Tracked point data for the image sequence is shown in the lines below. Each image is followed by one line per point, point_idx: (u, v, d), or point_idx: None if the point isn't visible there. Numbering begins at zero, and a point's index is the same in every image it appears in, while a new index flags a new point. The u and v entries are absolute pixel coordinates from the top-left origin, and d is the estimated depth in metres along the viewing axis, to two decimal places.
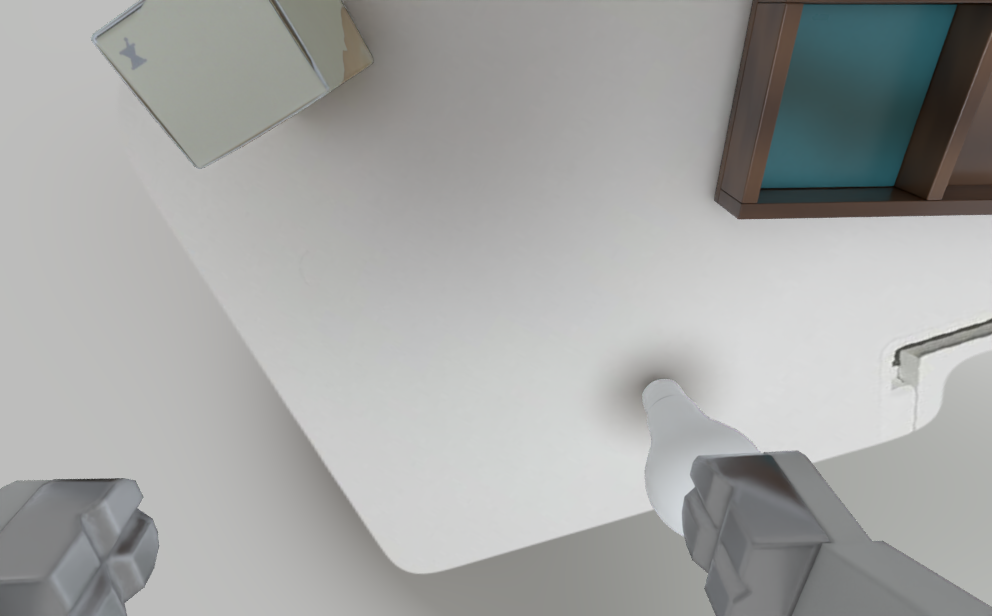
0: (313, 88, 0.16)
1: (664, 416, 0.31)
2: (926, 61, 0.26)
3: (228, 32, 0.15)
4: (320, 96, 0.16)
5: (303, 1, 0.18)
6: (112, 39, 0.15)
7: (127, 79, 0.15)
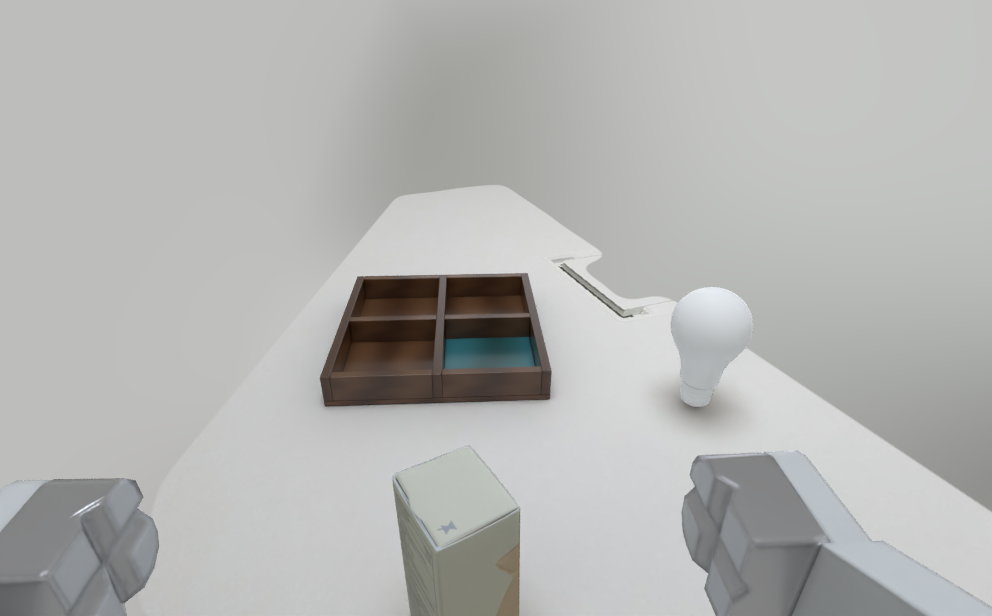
0: (468, 449, 0.28)
1: (692, 371, 0.45)
2: (469, 341, 0.55)
3: (437, 480, 0.26)
4: (472, 448, 0.28)
5: None
6: (438, 536, 0.23)
7: (462, 534, 0.23)
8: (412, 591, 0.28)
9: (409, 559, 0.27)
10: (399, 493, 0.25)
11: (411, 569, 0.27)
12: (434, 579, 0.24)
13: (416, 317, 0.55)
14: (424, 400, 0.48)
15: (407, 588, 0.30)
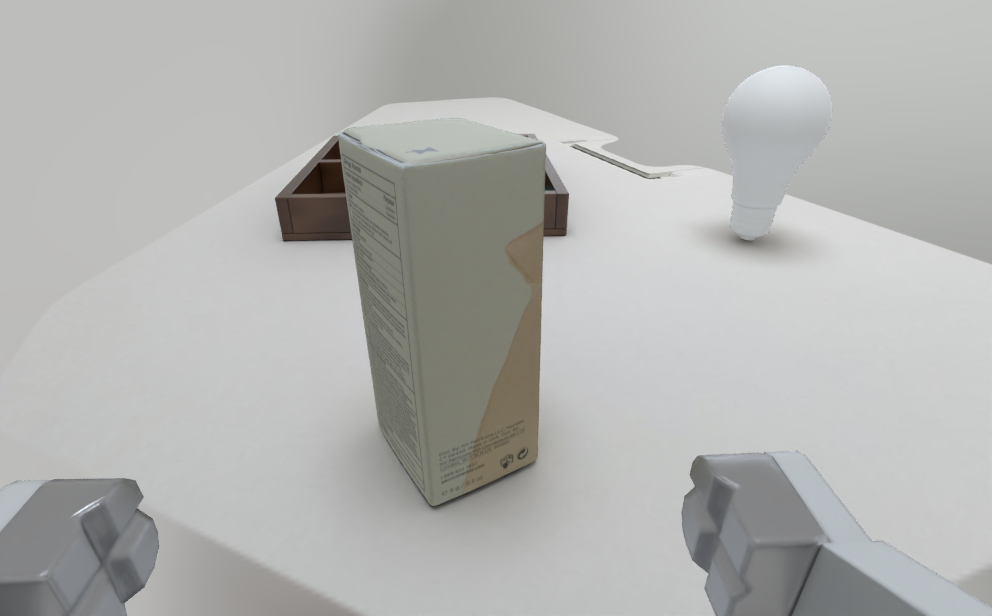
0: (460, 118, 0.18)
1: (750, 181, 0.35)
2: None
3: (409, 129, 0.16)
4: (466, 120, 0.18)
5: None
6: (405, 155, 0.13)
7: (448, 155, 0.13)
8: (375, 350, 0.19)
9: (367, 280, 0.17)
10: (347, 144, 0.16)
11: (371, 299, 0.17)
12: (401, 250, 0.14)
13: None
14: None
15: (370, 361, 0.20)
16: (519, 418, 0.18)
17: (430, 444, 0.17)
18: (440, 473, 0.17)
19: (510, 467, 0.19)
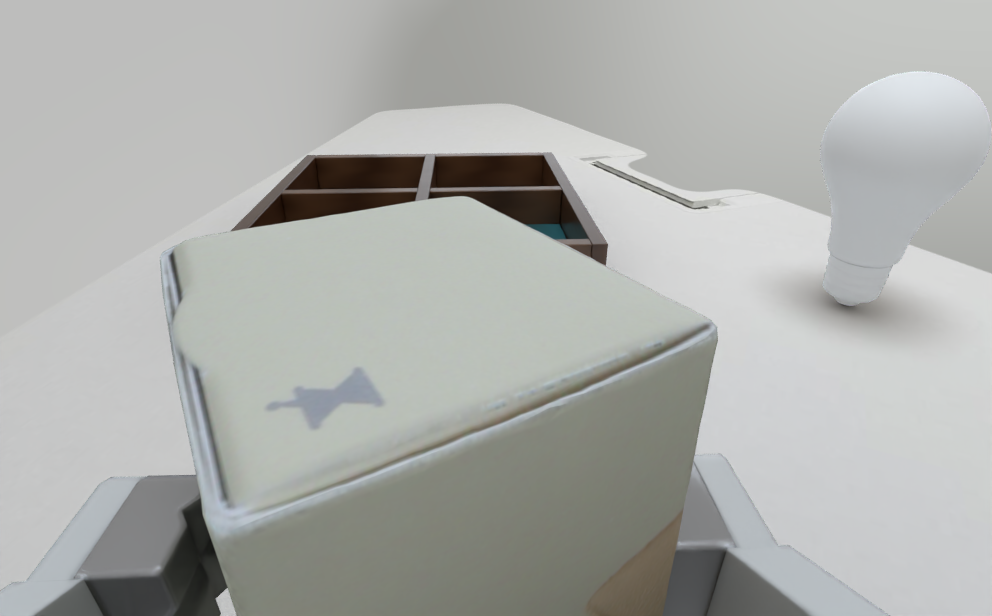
0: (462, 199, 0.08)
1: (862, 231, 0.25)
2: None
3: (332, 249, 0.06)
4: (477, 201, 0.08)
5: None
6: (253, 443, 0.03)
7: (417, 434, 0.04)
8: None
9: None
10: None
11: None
12: None
13: (386, 190, 0.35)
14: None
15: None
16: None
17: None
18: None
19: None
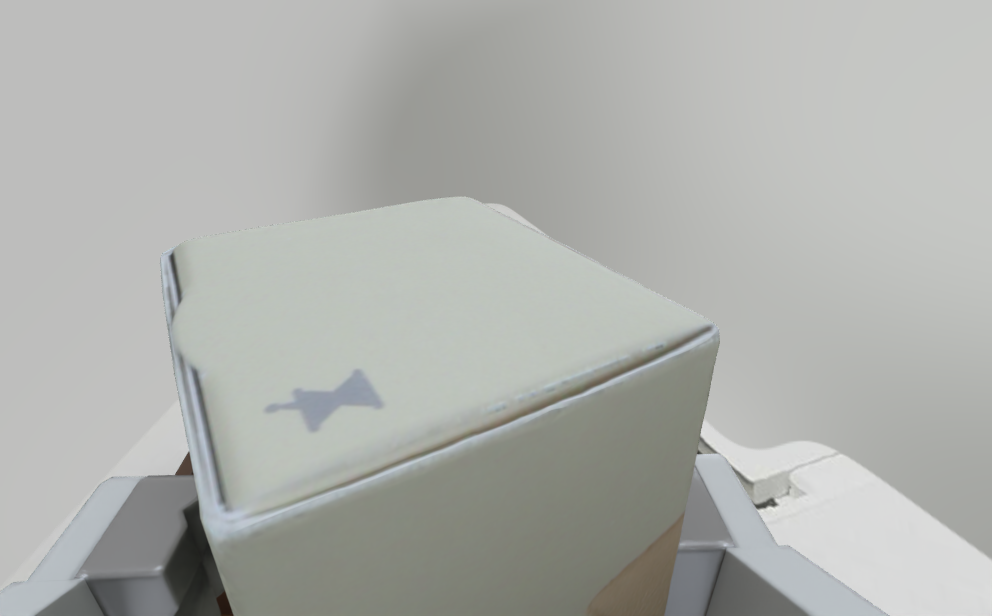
0: (464, 200, 0.08)
1: None
2: None
3: (332, 250, 0.06)
4: (478, 201, 0.08)
5: None
6: (253, 446, 0.03)
7: (418, 436, 0.04)
8: None
9: None
10: None
11: None
12: None
13: None
14: None
15: None
16: None
17: None
18: None
19: None
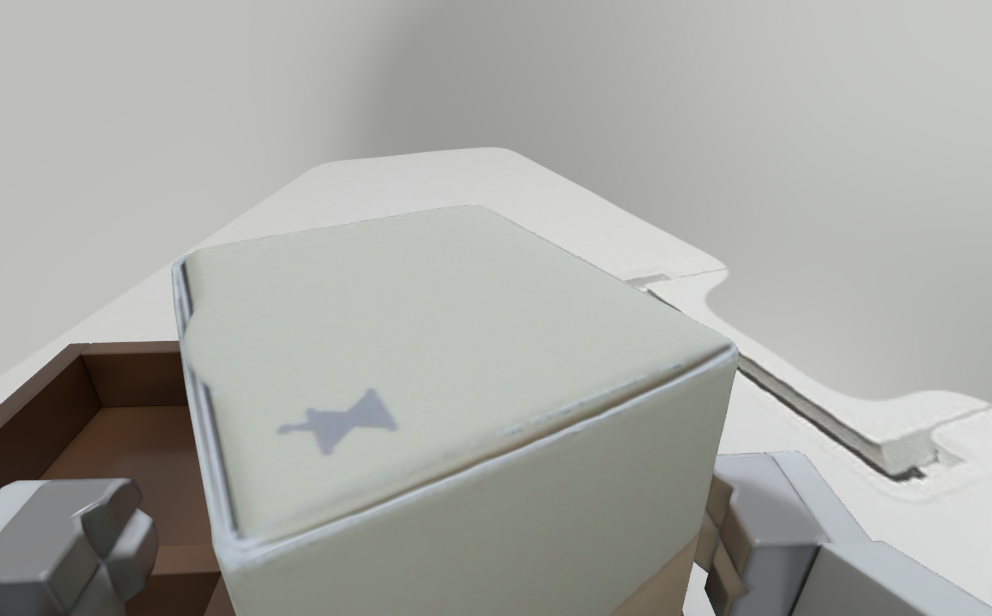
0: (475, 208, 0.08)
1: None
2: None
3: (344, 261, 0.06)
4: None
5: None
6: (266, 469, 0.03)
7: (431, 460, 0.04)
8: None
9: None
10: None
11: None
12: None
13: None
14: None
15: None
16: None
17: None
18: None
19: None
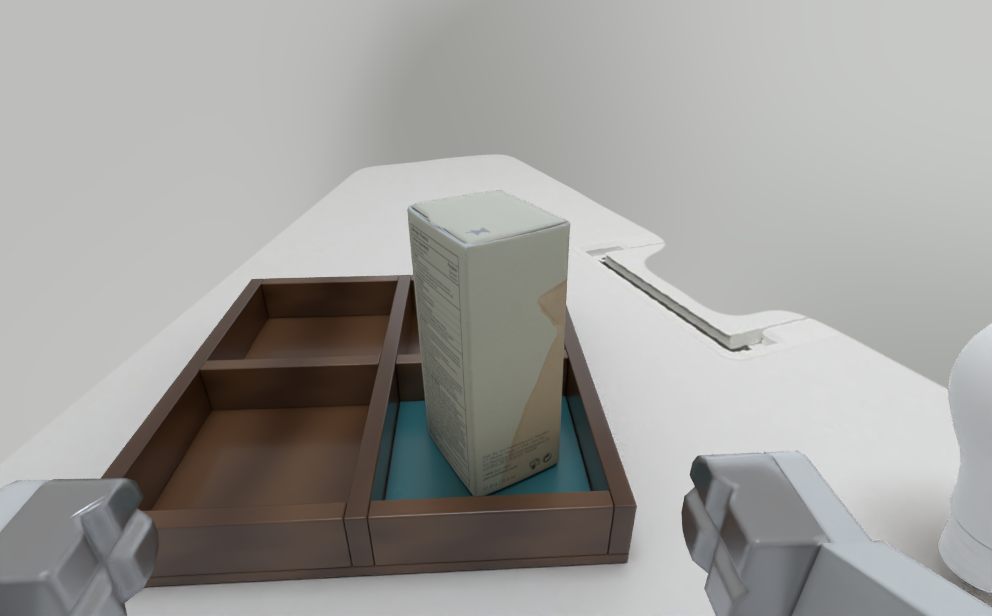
0: (500, 191, 0.22)
1: None
2: None
3: (463, 205, 0.21)
4: (505, 192, 0.23)
5: None
6: (466, 236, 0.18)
7: (497, 236, 0.18)
8: (430, 373, 0.23)
9: (427, 320, 0.22)
10: (416, 218, 0.20)
11: (429, 334, 0.22)
12: (460, 304, 0.19)
13: (339, 360, 0.27)
14: (331, 572, 0.20)
15: (424, 380, 0.24)
16: (545, 429, 0.23)
17: (476, 449, 0.21)
18: (483, 472, 0.22)
19: (537, 468, 0.23)
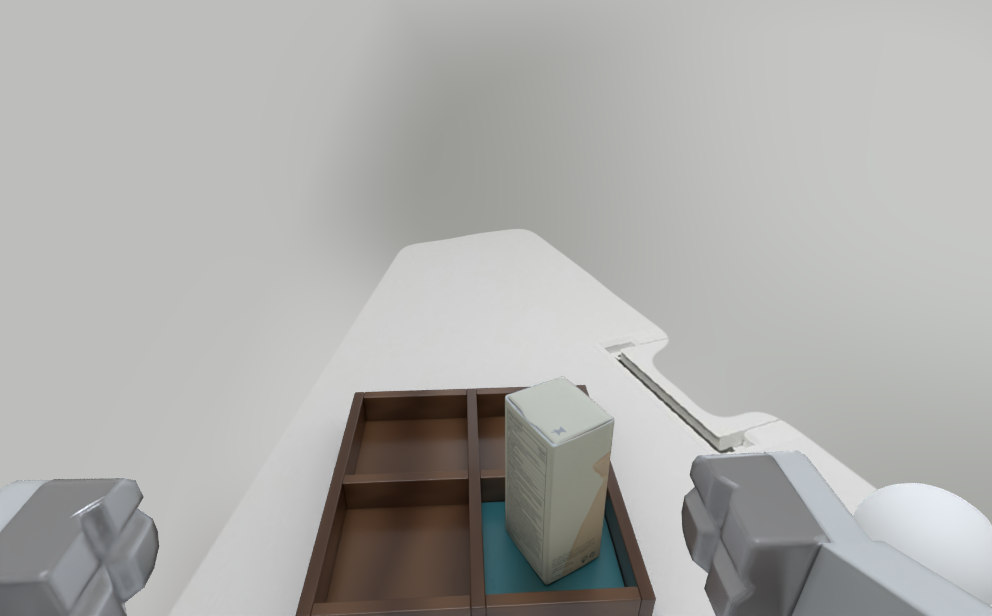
0: (563, 379, 0.33)
1: None
2: None
3: (543, 399, 0.32)
4: (566, 378, 0.34)
5: None
6: (552, 437, 0.29)
7: (571, 436, 0.29)
8: (513, 498, 0.34)
9: (515, 467, 0.33)
10: (513, 409, 0.31)
11: (516, 476, 0.33)
12: (546, 474, 0.30)
13: (439, 475, 0.38)
14: None
15: (506, 498, 0.35)
16: (592, 537, 0.34)
17: (549, 556, 0.32)
18: (552, 568, 0.33)
19: (585, 562, 0.34)
